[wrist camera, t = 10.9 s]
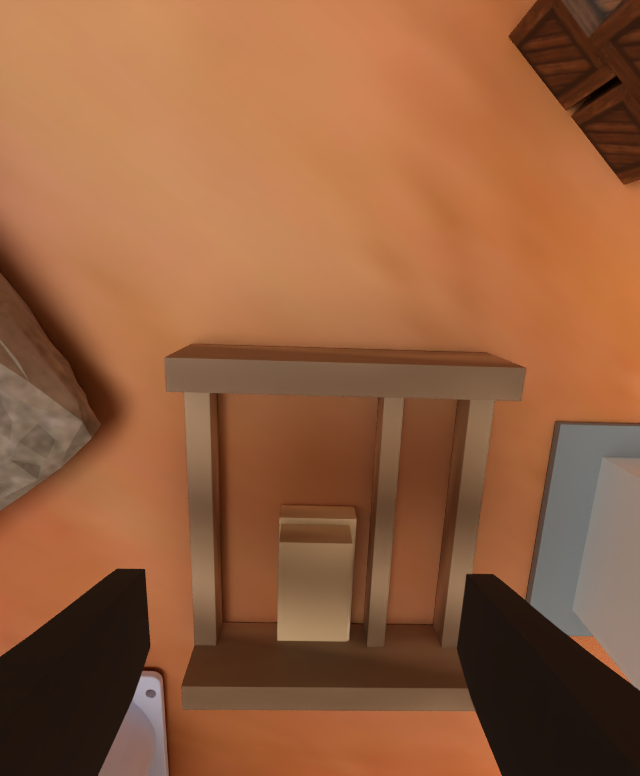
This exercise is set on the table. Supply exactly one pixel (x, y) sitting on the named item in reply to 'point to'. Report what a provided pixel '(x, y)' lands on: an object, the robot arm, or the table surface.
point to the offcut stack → (315, 572)
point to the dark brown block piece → (591, 70)
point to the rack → (374, 637)
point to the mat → (571, 513)
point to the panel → (614, 566)
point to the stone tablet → (35, 402)
